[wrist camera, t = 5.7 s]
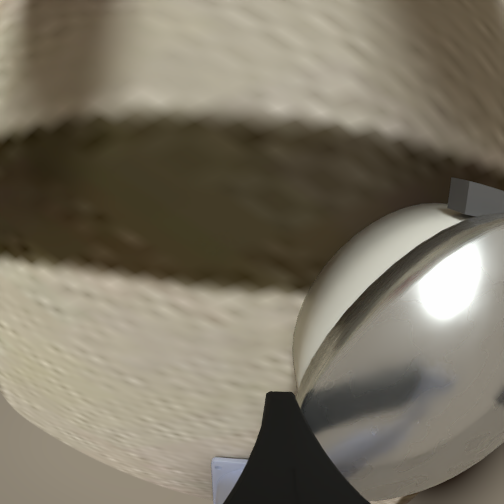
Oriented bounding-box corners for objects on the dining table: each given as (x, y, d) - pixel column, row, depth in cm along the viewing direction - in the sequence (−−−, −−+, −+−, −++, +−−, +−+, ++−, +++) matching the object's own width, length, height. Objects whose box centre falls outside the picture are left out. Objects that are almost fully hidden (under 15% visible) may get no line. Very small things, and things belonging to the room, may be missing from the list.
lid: (485, 449, 12) (500, 475, 10) (270, 489, 12) (271, 531, 10) (586, 236, 8) (620, 253, 5) (331, 178, 8) (368, 190, 5)
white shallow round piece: (452, 417, 17) (474, 456, 13) (274, 435, 17) (276, 493, 12) (532, 203, 12) (584, 221, 7) (316, 154, 12) (348, 153, 7)
